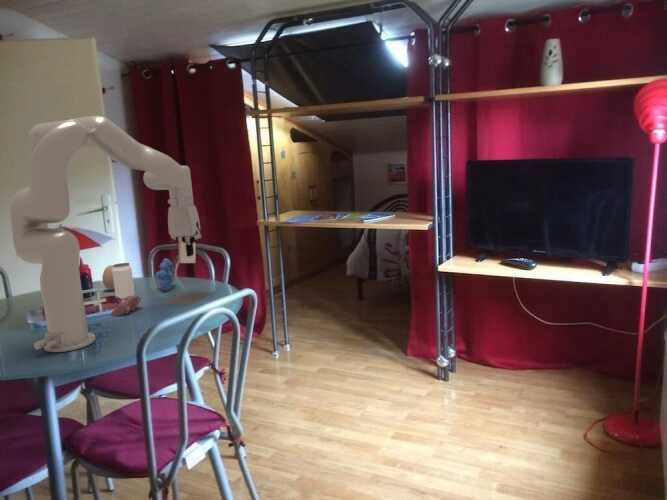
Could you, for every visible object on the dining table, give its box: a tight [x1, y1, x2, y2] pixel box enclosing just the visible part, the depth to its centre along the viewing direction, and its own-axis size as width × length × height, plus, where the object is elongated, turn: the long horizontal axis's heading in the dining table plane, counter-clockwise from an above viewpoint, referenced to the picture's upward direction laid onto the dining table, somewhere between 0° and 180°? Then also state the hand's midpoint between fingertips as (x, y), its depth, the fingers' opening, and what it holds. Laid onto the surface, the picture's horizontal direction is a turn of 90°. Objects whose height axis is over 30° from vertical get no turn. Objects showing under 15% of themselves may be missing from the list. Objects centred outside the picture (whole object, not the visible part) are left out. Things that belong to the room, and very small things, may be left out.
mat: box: [158, 290, 215, 306], centre depth 179 cm, size 16×12×1 cm
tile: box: [178, 241, 196, 264], centre depth 179 cm, size 8×1×7 cm, turn 162°
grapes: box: [154, 257, 175, 292], centre depth 192 cm, size 12×7×12 cm, turn 1°
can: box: [112, 262, 136, 300], centre depth 186 cm, size 6×6×12 cm
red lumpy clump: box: [110, 294, 142, 317], centre depth 166 cm, size 10×5×7 cm, turn 169°
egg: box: [102, 264, 115, 291], centre depth 198 cm, size 7×7×10 cm
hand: (188, 255), depth 179 cm, fingers closed on tile, 1 cm apart
